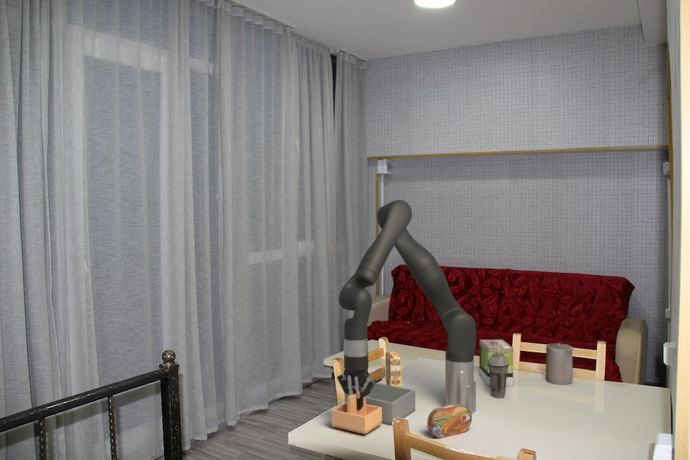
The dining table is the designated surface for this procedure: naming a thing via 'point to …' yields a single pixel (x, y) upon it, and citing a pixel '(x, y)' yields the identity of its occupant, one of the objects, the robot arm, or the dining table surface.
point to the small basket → (356, 416)
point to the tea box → (490, 348)
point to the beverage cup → (498, 374)
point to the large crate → (391, 401)
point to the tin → (449, 420)
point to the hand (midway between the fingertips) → (356, 408)
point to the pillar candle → (559, 364)
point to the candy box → (393, 369)
